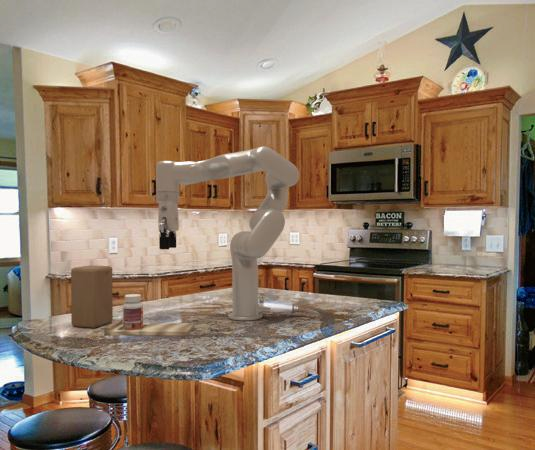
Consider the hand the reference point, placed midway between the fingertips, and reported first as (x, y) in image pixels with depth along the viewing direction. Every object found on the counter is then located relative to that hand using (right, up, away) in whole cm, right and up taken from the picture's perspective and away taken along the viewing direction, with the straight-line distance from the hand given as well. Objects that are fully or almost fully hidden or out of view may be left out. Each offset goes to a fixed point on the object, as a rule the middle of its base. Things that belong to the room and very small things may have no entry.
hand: (168, 248), depth 155 cm
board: (-4, -26, -7) cm, 28 cm away
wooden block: (-27, -27, +3) cm, 38 cm away
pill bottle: (-10, -26, -7) cm, 29 cm away
